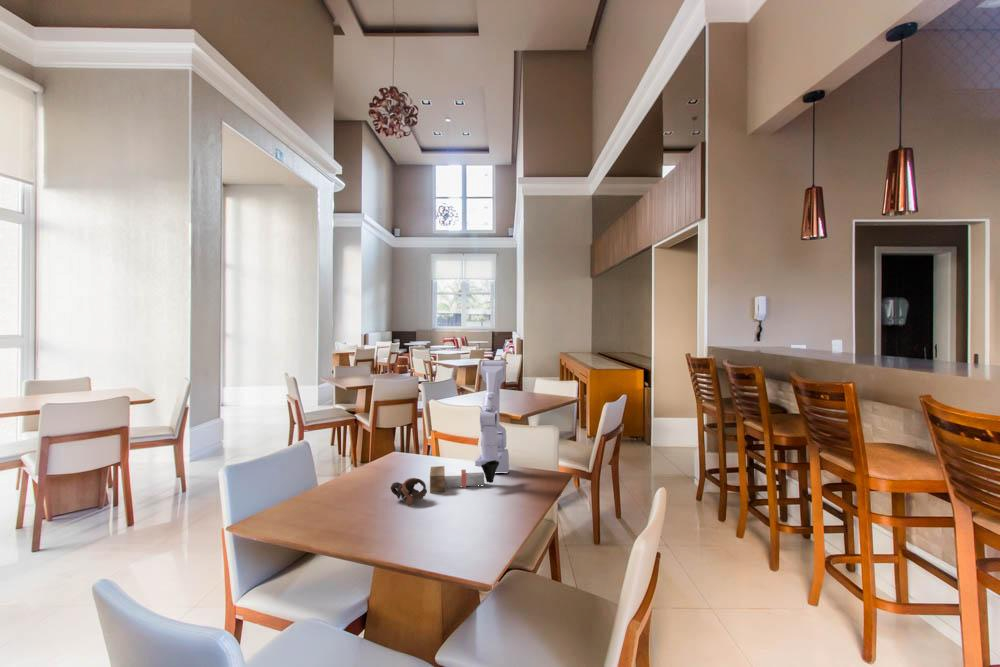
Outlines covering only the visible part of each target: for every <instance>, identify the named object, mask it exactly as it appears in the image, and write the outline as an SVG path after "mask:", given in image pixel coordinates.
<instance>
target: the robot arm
mask: <svg viewBox="0 0 1000 667" xmlns="http://www.w3.org/2000/svg"><path fill="white" fill-rule="evenodd" d="M480 374H481V379H482V382H485V383H486V393H485V394H484V395H483V397H482V407H481V408H482V409H481V412H480V414H479V426H480V432H481V436H480V446H481V454H480V455H479V458H478V459H475V460H474V465H475V467H480V468H481V469H482V471H483V472H484V478H485V480H486V483H489V484H490V483H491V484H492V483H494V479H495V475H496V474H495V472H509V473H510V464H509V463H510V460H509V456H510V455H509V450H508V449H507V448H506V447H507V430H506V428H505V427H504V426H502V425H501V424H500V394H501V392H500V390H501V385H502V383H504V382H506V379H507V362H506V360H483V359H482V361H481V362H480Z"/></svg>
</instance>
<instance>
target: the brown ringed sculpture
mask: <svg viewBox="0 0 1000 667" xmlns="http://www.w3.org/2000/svg"><path fill="white" fill-rule="evenodd" d="M418 484H420V485H421V486H422V489H421V491H420V490H418V489H415V488H414V487H415V485H418ZM390 491H391V493H392V494H394V496H396V497H397V499H398V500H399V499H403V498H405V497H406V501H405V505H406V506H409V505H410V506H411V505H412V503H413V504H414V503H416V502H418V501H420V500H423V499H424V497H425V496H426V494H427V493H428V490H427V486H426V483H425V482H424V480H422V479H420V478H416V477H411V478H407V479H406V480H404V482H403V483H401V482H398V481H397V482H393V483H392V484H391V486H390Z"/></svg>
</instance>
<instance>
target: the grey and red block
mask: <svg viewBox="0 0 1000 667" xmlns="http://www.w3.org/2000/svg"><path fill="white" fill-rule="evenodd" d="M478 485H479V486H481V485H484V486H485V474H484V471H483V472H466V469H461V474H460V475H445V487H453V488H462V487H466V486H478ZM460 486H462V487H460ZM466 488H467V487H466Z"/></svg>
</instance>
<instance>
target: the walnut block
mask: <svg viewBox="0 0 1000 667" xmlns="http://www.w3.org/2000/svg"><path fill="white" fill-rule="evenodd" d="M445 470H446V469H445V466H444V465H442V466H441V465H440V466H430V471H429V472H430V473H429V494H433V493H432V492H443V493H445V491H446V488H445V476H446V474H445V472H446V471H445Z"/></svg>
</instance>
